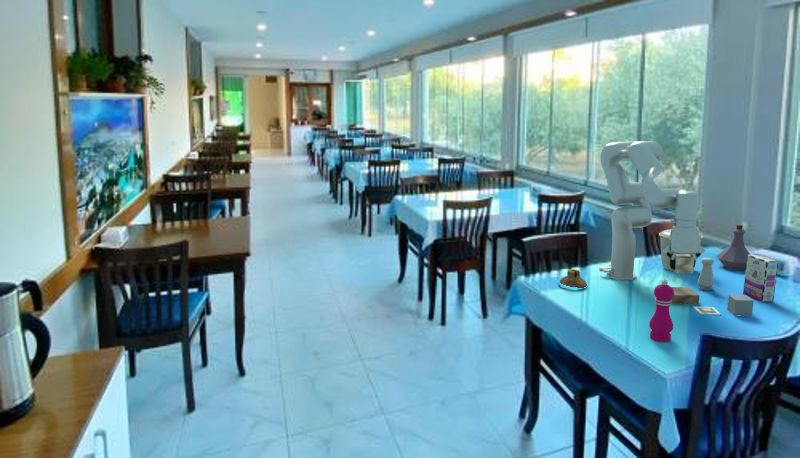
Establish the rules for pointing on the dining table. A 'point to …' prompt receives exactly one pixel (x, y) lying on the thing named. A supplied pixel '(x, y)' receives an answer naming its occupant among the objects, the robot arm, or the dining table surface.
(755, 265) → the candy bar box
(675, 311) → the dining table surface
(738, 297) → the grey cube
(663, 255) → the canister
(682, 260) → the maple cube
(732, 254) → the flask
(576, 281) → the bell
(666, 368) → the dining table surface
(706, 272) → the salt shaker
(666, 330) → the pepper mill
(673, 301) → the walnut block
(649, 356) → the dining table surface
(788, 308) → the dining table surface
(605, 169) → the robot arm
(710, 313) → the card
